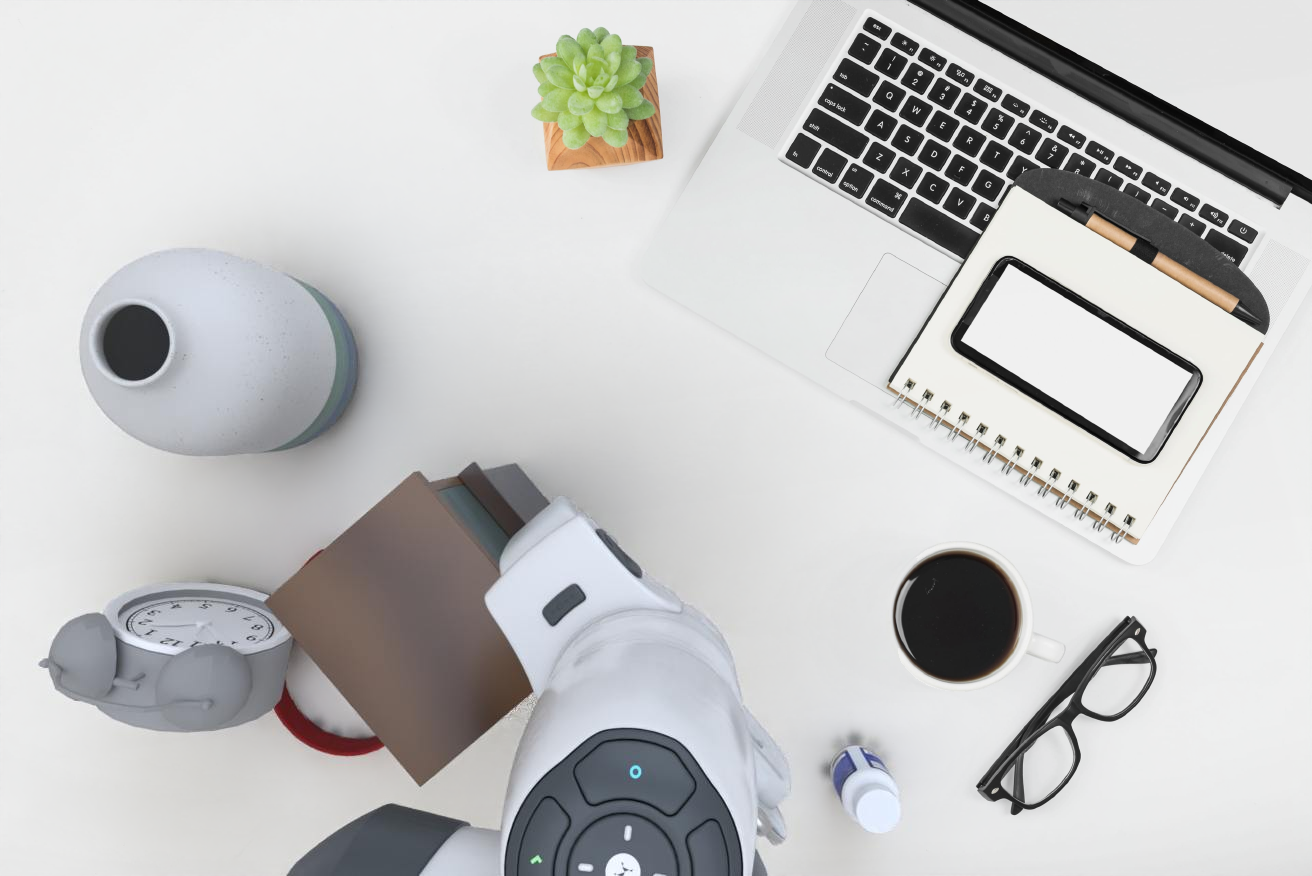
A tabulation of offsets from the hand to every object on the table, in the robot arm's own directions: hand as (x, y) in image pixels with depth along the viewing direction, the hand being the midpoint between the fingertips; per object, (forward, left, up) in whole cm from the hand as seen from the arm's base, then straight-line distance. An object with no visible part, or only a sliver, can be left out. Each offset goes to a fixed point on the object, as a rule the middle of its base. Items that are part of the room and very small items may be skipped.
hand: (655, 623), depth 53 cm
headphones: (-30, +12, -29) cm, 43 cm away
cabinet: (-10, +9, -29) cm, 32 cm away
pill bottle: (+1, -29, -29) cm, 41 cm away
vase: (-16, +38, -29) cm, 51 cm away
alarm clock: (-37, +21, -29) cm, 51 cm away
